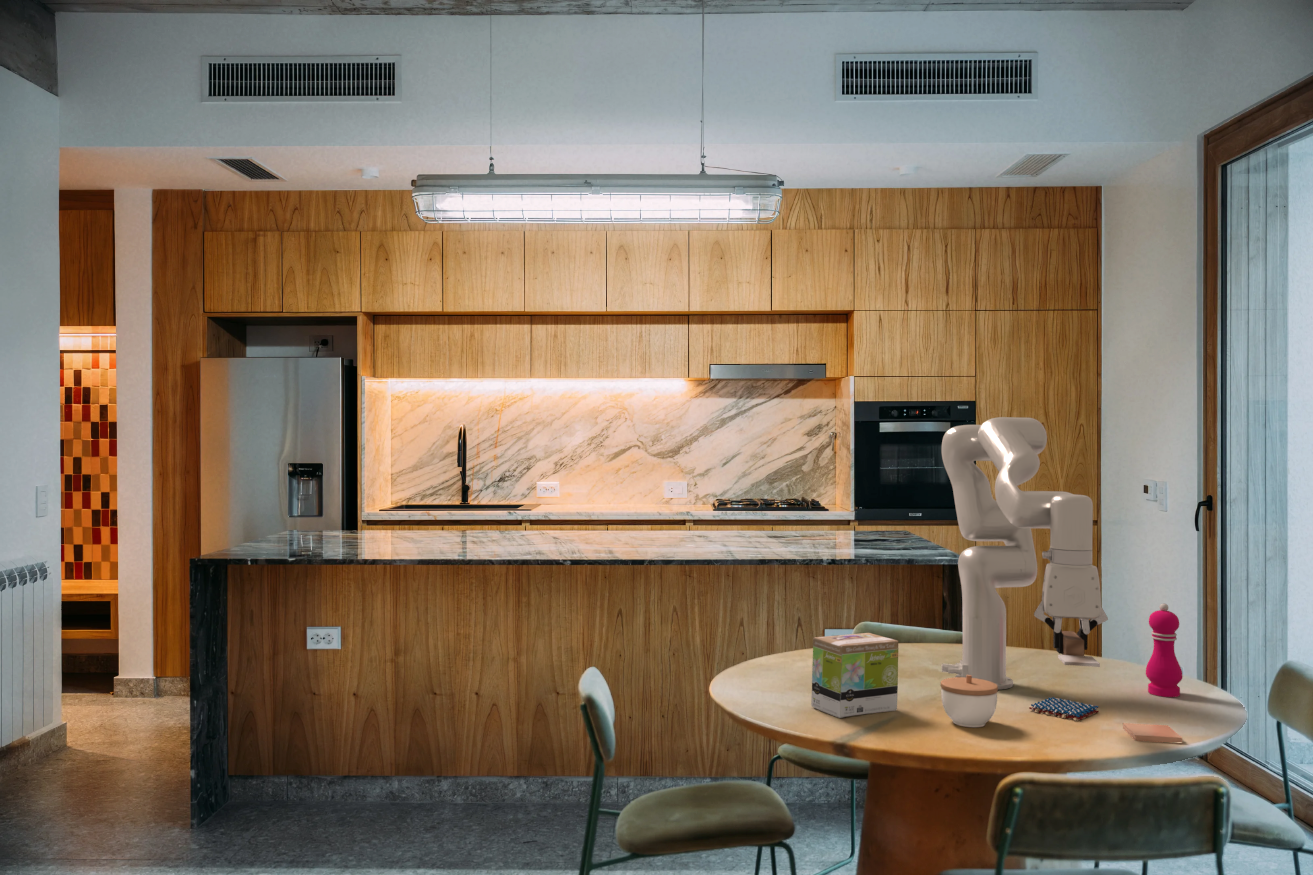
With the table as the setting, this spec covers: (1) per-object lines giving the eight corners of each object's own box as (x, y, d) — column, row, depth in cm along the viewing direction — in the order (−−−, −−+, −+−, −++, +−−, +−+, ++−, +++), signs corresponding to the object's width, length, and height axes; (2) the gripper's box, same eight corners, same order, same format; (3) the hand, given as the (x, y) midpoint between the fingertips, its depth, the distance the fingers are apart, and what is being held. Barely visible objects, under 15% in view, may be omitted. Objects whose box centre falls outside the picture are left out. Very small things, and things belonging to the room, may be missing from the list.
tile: (1122, 731, 184) (1135, 743, 176) (1122, 722, 184) (1135, 734, 176) (1167, 733, 182) (1182, 746, 175) (1167, 725, 182) (1182, 737, 175)
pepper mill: (1187, 698, 206) (1187, 606, 207) (1151, 696, 208) (1151, 605, 208) (1176, 690, 213) (1176, 601, 214) (1141, 688, 215) (1141, 600, 215)
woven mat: (1049, 704, 203) (1049, 695, 203) (1100, 715, 195) (1100, 705, 195) (1026, 713, 196) (1026, 703, 196) (1078, 724, 188) (1078, 714, 188)
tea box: (841, 719, 188) (841, 645, 189) (810, 707, 197) (810, 636, 198) (899, 710, 195) (899, 638, 196) (867, 699, 204) (867, 630, 204)
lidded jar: (999, 733, 180) (999, 683, 180) (940, 728, 183) (941, 679, 183) (995, 717, 191) (995, 671, 191) (939, 713, 193) (940, 667, 194)
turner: (1064, 664, 175) (1064, 645, 175) (1048, 647, 190) (1049, 630, 190) (1099, 666, 174) (1099, 647, 174) (1081, 649, 188) (1081, 631, 188)
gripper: (1029, 559, 182) (1028, 654, 182) (1122, 562, 179) (1121, 659, 179) (1023, 554, 190) (1022, 646, 190) (1111, 557, 186) (1110, 650, 186)
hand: (1070, 651), depth 184 cm, fingers closed on turner, 3 cm apart
